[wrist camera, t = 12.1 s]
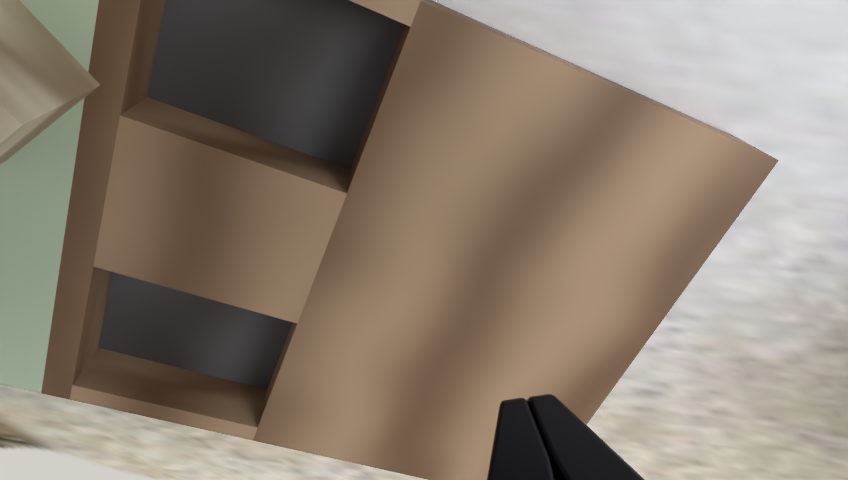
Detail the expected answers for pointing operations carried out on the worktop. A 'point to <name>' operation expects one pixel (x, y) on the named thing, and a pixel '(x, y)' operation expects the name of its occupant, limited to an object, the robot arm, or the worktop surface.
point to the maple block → (34, 78)
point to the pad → (39, 211)
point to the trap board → (369, 226)
